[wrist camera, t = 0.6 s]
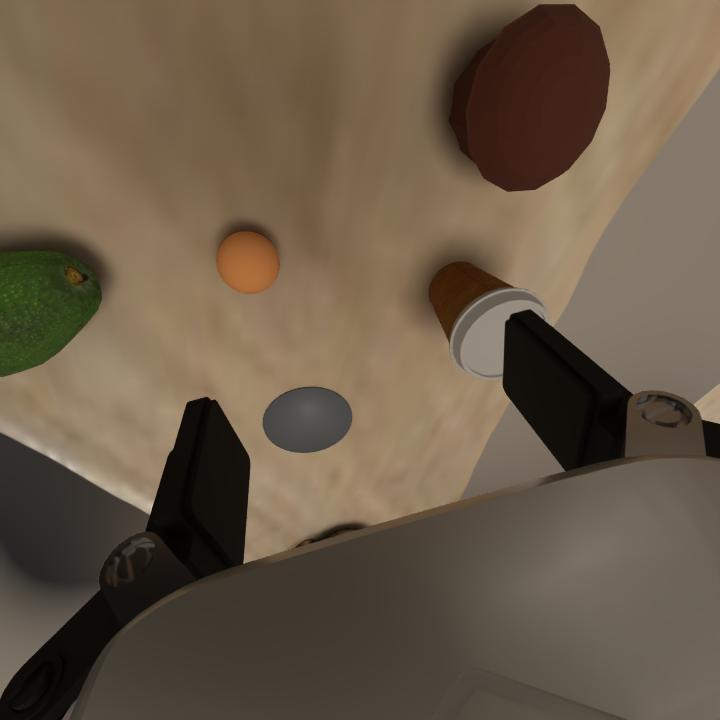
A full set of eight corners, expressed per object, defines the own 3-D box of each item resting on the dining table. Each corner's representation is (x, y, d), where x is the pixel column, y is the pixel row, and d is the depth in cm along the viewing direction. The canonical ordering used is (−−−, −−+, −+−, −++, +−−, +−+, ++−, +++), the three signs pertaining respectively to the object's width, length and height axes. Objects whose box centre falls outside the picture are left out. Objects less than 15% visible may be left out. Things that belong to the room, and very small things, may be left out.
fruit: (75, 210, 32) (9, 248, 24) (145, 307, 38) (110, 363, 30) (-88, 266, 33) (-206, 322, 25) (6, 354, 39) (-65, 422, 31)
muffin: (427, 42, 30) (482, 23, 22) (559, -2, 30) (662, -37, 22) (445, 193, 37) (491, 220, 29) (552, 158, 37) (628, 176, 29)
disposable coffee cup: (476, 326, 47) (528, 386, 38) (406, 320, 45) (441, 382, 35) (507, 253, 42) (575, 300, 33) (429, 241, 40) (477, 288, 30)
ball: (211, 230, 35) (201, 250, 31) (269, 218, 36) (268, 235, 31) (232, 284, 39) (226, 310, 34) (285, 272, 39) (287, 296, 34)
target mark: (250, 399, 48) (250, 400, 47) (343, 377, 48) (343, 378, 48) (277, 460, 55) (277, 461, 54) (358, 439, 55) (358, 440, 55)
